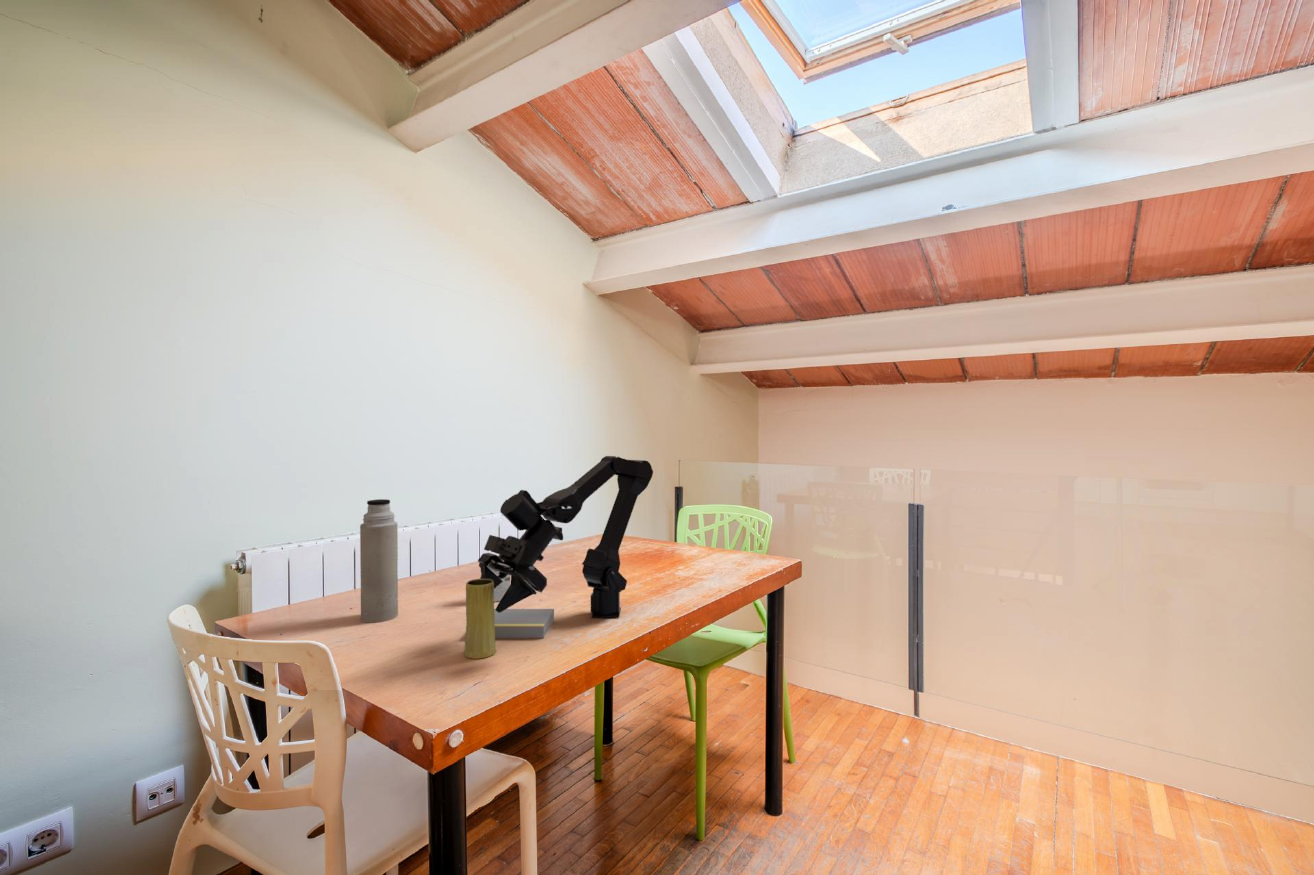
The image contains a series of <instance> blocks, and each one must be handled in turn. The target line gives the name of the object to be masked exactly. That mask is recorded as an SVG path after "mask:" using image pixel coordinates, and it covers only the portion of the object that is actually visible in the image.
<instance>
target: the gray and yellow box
mask: <svg viewBox="0 0 1314 875" xmlns="http://www.w3.org/2000/svg"><path fill="white" fill-rule="evenodd" d="M494 617H495V618H494V619H495V639H545V636H546V635H547V634H548V631H549V629H550V627H551V625H552V624H553V622H554V621H555V608H507V609H505V610H504V611H502V612H500V613H498V612H497V611H496V608H494Z"/></svg>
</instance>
